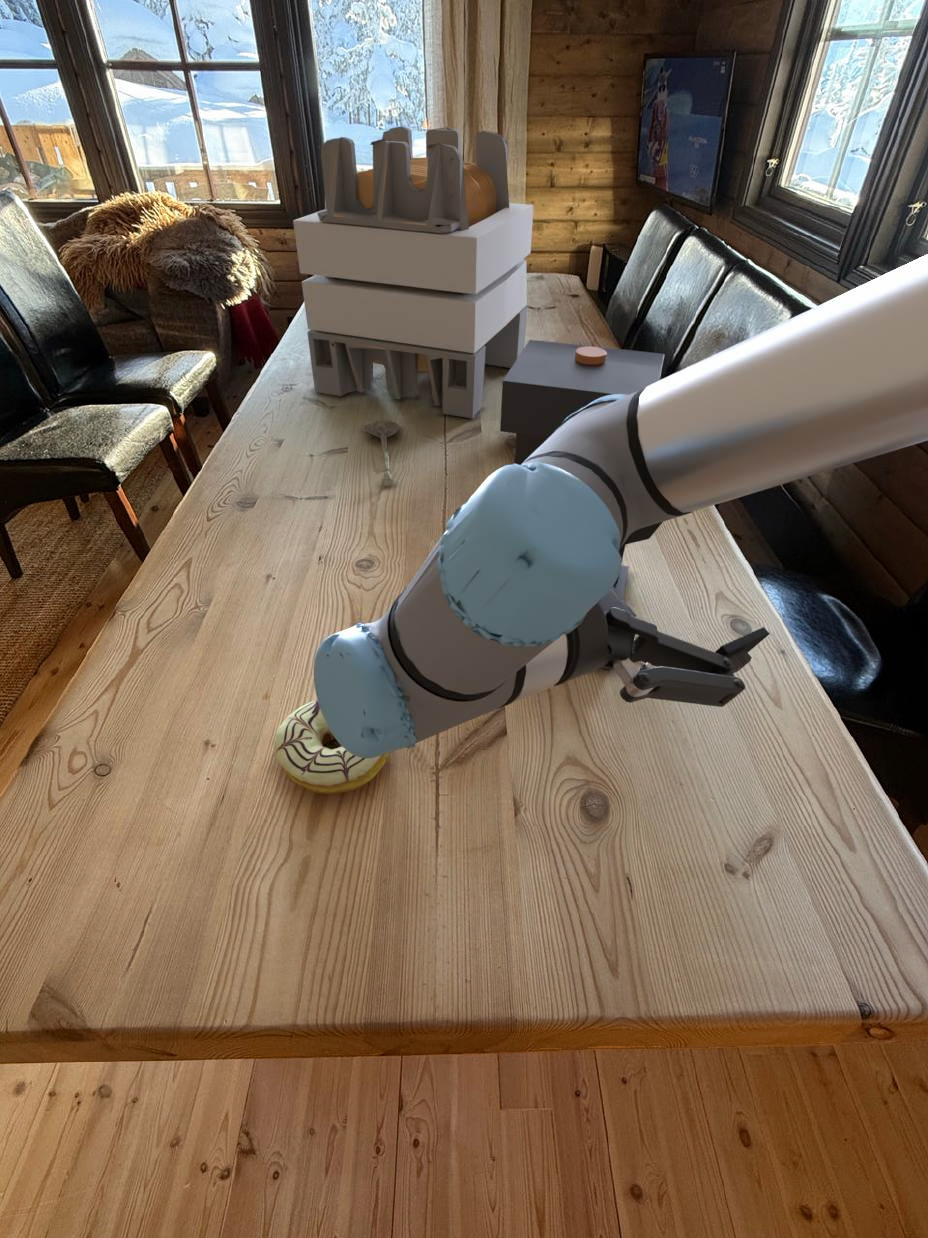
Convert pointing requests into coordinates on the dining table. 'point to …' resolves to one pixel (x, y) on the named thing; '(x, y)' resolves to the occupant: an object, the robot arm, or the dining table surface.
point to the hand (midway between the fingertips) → (703, 580)
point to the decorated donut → (320, 755)
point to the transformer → (415, 268)
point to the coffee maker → (567, 392)
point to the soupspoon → (383, 441)
